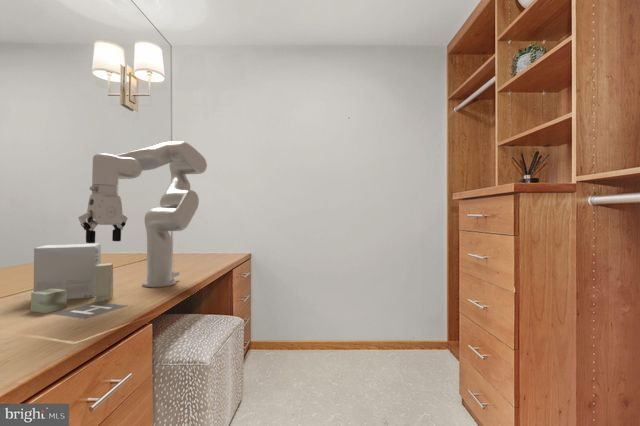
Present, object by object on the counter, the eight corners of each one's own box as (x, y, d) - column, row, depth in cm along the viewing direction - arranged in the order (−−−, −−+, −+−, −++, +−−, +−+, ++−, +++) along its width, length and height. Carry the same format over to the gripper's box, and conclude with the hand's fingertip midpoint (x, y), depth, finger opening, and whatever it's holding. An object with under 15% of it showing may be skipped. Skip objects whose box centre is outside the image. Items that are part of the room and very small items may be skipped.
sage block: (52, 307, 106) (52, 288, 106) (66, 309, 105) (66, 290, 105) (30, 313, 101) (31, 292, 101) (45, 315, 99) (45, 294, 99)
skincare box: (110, 302, 114) (110, 265, 114) (94, 303, 112) (95, 266, 112) (113, 297, 119) (113, 262, 119) (98, 298, 118) (98, 263, 118)
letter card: (96, 303, 111) (96, 302, 111) (128, 307, 107) (128, 305, 107) (51, 315, 98) (51, 313, 98) (85, 320, 94) (85, 318, 94)
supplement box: (101, 290, 130) (102, 243, 130) (95, 298, 118) (95, 246, 118) (44, 294, 123) (45, 244, 123) (32, 303, 111) (32, 247, 111)
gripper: (89, 188, 106) (88, 244, 106) (135, 193, 123) (133, 241, 122) (71, 189, 109) (70, 243, 108) (118, 193, 125) (117, 240, 125)
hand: (104, 242), depth 115 cm, fingers open, 9 cm apart
